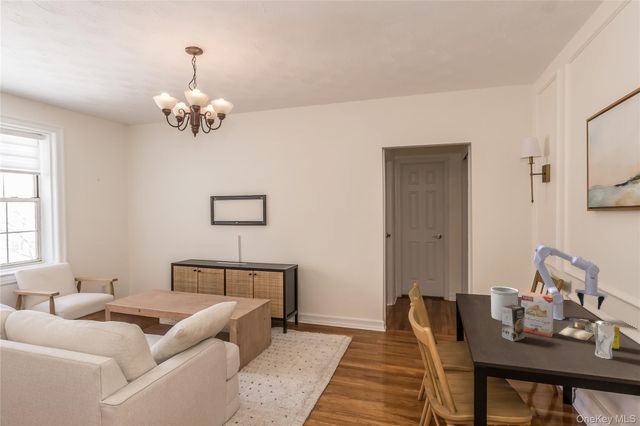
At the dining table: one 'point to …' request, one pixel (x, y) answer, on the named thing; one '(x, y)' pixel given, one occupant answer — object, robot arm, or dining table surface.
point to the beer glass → (604, 339)
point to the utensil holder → (502, 300)
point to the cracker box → (538, 313)
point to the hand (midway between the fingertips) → (590, 307)
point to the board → (578, 332)
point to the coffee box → (513, 322)
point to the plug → (581, 324)
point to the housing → (587, 323)
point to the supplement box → (616, 338)
